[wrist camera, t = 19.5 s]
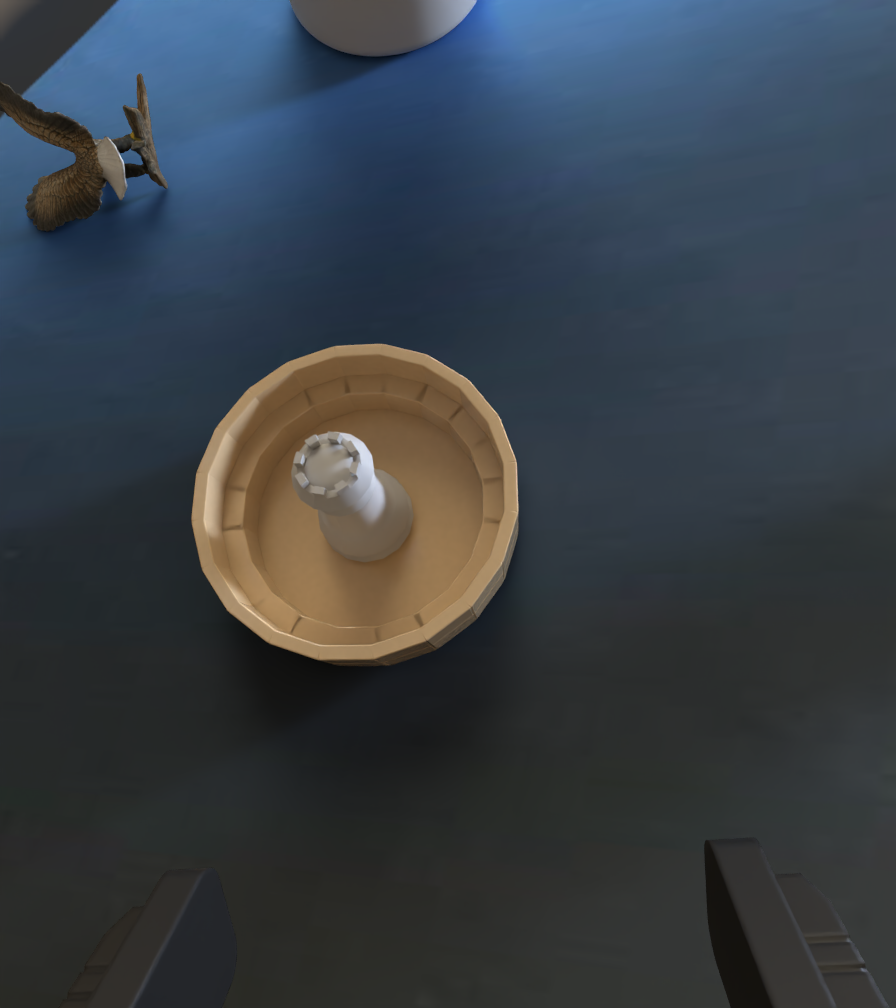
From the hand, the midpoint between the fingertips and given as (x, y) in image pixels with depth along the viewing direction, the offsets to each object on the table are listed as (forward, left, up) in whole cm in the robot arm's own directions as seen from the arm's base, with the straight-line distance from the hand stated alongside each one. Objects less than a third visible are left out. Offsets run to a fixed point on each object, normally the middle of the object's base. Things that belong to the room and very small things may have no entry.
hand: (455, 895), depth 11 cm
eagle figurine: (+23, -33, -20) cm, 45 cm away
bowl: (+6, -12, -20) cm, 24 cm away
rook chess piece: (+6, -12, -20) cm, 24 cm away
